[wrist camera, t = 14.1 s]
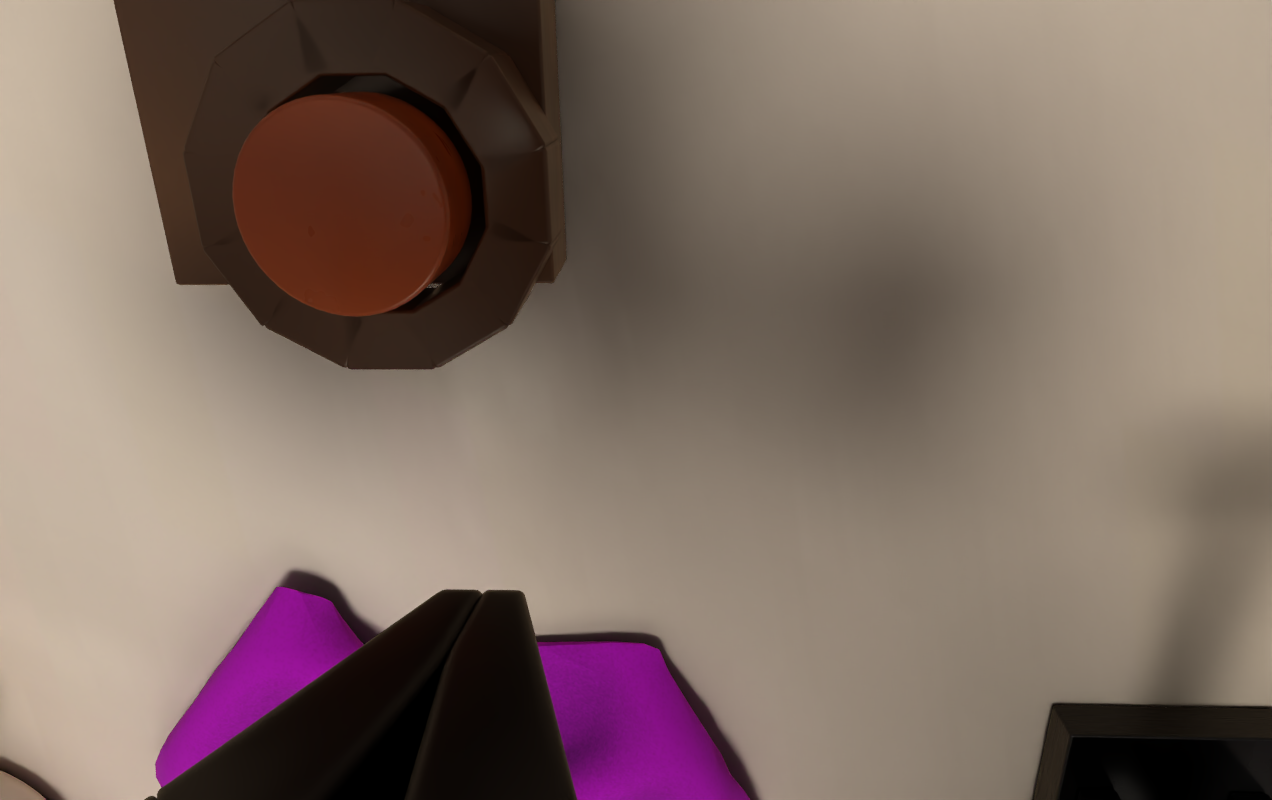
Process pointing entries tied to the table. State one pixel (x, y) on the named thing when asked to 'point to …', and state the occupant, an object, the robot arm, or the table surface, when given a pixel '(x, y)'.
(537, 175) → the button block
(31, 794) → the water bottle
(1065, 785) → the bracket
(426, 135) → the button
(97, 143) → the table surface
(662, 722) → the cloth
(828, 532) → the table surface
